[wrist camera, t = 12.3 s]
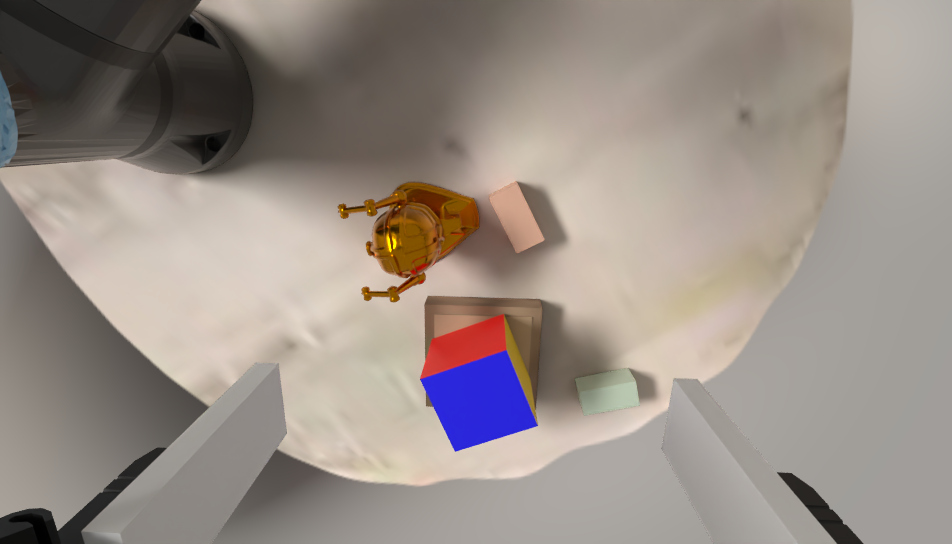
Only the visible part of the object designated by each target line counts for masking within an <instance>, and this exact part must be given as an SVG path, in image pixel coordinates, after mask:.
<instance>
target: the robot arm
mask: <svg viewBox="0 0 952 544" xmlns="http://www.w3.org/2000/svg"><path fill="white" fill-rule="evenodd" d="M200 1H201V0H0V168H1V167H14V166H27V165H40V164H53V163H67V162H80V161H93V160H106V159H118V160H121V161H124V162H127V163H130V164H133V165H136V166H139V167H142V168H145V169H148V170H151V171H155V172H160V173H167V174H187V173H195V172H202V171H206V170H210V169H212V168H215V167H217V166H219V165H221V164H223V163H224V162H225V161H227V160H228V159H229V158H231V157H232V156H233V155H234V154H235V153H236V151H237V150H238V149H239V148H240V146H241V145H242V143H243V141H244V139H245V137H246V135H247V133H248V130H249V127H250V123H251V118H252V109H253V99H252V90H251V84H250V80H249V77H248V73H247V70H246V68H245V65H244V63H243V61H242V59H241V57H240V55H239V53H238V52H237V50H236V48H235V47H234V45H233V44H232V43H231V41H230V40H229V39H228V37H227V36H226V35H225V34H224V33H223V32H222V31H221V30H220V29H219V28H218V27H217V26H216V25H215V24H214V23H212V22H211V21H210V20H208V19H207V18H206V17H204V16H203V15H201V14H199V13H197V12H196V11H194V9H195V8H196V6H197V5H198V4H199V3H200ZM286 434H287V430H286V422H285V413H284V405H283V397H282V389H281V380H280V372H279V364H276V363H255V364H254V365H253V366H252V367H251V368H250V369H249V370H248V371H247V372H246V373H245V374H244V375H243V376H242V377H241V378H240V379H239V380H238V381H237V382H235V383H234V384H233V385H232V386H231V387H230V388H229V389H228V390H227V391H226V392H225V393H224V394H223V395H222V396H221V397H220V398H219V399H218V400H217V401H216V402H215V403H214V404H213V405H212V406H211V407H210V408H208V409H207V410H206V412H204V413H203V414H202V415H201V416H200V417H199V418H198V419H197V420H196V421H195V422H194V423H193V424H192V425H191V426H190V427H189V428H188V429H187V430H186V431H185V432H184V433H183V434H182V435H181V436H180V437H178V438H177V439H176V440H175V441H174V442H173V443H172V444H171V445H170V446H169V447H168V448H156V449H154V450H152V451H151V452H149V453H147V454H146V455H144V456H142V457H141V458H139V459H137V460H135V461H134V462H133V463H132V464H131V465H130V466H129V467H128V468H127V469H125V470H124V471H123V472H122V473H121V474H120V475H119V476H118V479H117V480H115V479H114V480H113V481H112V482H111V483H110V484H109V485H108V486H107V487H106V488H105V489H104V491H103V493H99V494H98V495H97V496H96V497H95V498H94V499H93V500H92V501H90V502H89V503H88V504H87V505H86V506H85V507H84V508H83V509H82V510H80V511H79V512H78V513H77V514H76V515H75V516H74V517H73V518H72V519H71V520H70V521H68V522H67V523H66V524H65V525H64V526H63V527H62V528H61V529H60V530H59V531H57V528H56V525H55V522H54V519H53V516H52V513H51V511H48V510H46V509H43V508H38V509H26V510H22V511H19V512H15V513H11V514H9V515H6V516H4V517H2V518H0V544H211V543H212V542H213V540H214V539H215V537H216V536H217V534H218V533H219V531H220V530H221V529H222V527H223V525H224V524H225V523H226V521H227V520H228V518H229V517H230V515H231V514H232V513H233V511H234V510H235V508H236V507H237V505H238V504H239V502H240V501H241V499H242V498H243V497H244V495H245V494H246V492H247V491H248V489H249V488H250V486H251V485H252V483H253V482H254V481H255V479H256V478H257V476H258V475H259V473H260V472H261V470H262V469H263V467H264V466H265V464H266V463H267V462H268V460H269V459H270V457H271V455H272V454H273V453H274V451H275V450H276V448H277V447H278V446H279V444H280V443H281V441H282V440H283V438H284V437H285V435H286ZM662 451H663V453H664V454H665V456H666V458H667V460H668V461H669V464H670V465H671V467H672V469H673V471H674V472H675V474H676V476H677V478H678V480H679V482H680V484H681V486H682V487H683V489H684V491H685V493H686V495H687V496H688V498H689V500H690V502H691V504H692V506H693V508H694V509H695V511H696V513H697V515H698V517H699V518H700V520H701V522H702V524H703V526H704V528H705V529H706V531H707V533H708V535H709V537H710V539H711V541H712V542H713V544H863V543H862V542H861V540H860V539H859V538H858V537H857V536H856V535H855V534H854V533H853V532H852V531H851V529H850V528H849V527H848V526H847V525H844V524H843V521H842V520H841V519H840V517H839V516H838V515H837V514H836V513H835V512H834V511H833V510H830V509H829V506H828V504H827V503H826V502H825V501H824V500H823V499H822V498H821V497H820V496H819V495H818V493H817V492H816V491H815V490H814V489H813V488H812V487H810V486H809V485H807V484H806V483H805V482H803V481H802V480H800V479H799V478H797V477H796V476H795V475H793V474H792V473H778V472H776V471H775V470H774V469H773V468H772V467H771V465H770V464H769V463H768V462H767V461H766V459H765V458H764V457H763V456H762V455H761V454H760V452H759V451H758V450H757V449H756V448H755V447H754V445H753V444H752V443H751V442H750V441H749V439H748V438H747V437H746V436H745V435H744V434H743V433H742V431H741V430H740V429H739V428H738V427H737V425H736V424H735V423H734V422H733V421H732V419H731V418H730V417H729V416H728V415H727V414H726V413H725V411H724V410H723V409H722V408H721V406H720V405H719V404H718V403H717V402H716V401H715V399H714V398H713V397H712V396H711V395H710V394H709V392H708V391H707V390H706V389H705V388H704V387H703V385H702V384H701V383H700V382H699V381H698V379H678V378H674V380H673V385H672V391H671V397H670V403H669V408H668V414H667V420H666V425H665V431H664V437H663V443H662Z"/></svg>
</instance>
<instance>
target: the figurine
mask: <svg viewBox="0 0 952 544" xmlns="http://www.w3.org/2000/svg"><path fill="white" fill-rule="evenodd" d="M386 206H390V207H389V210H387V211H386V212H385V213H383V214H382V215H381V216H380V217H379V218H378V219H377V220H376V222H375V224H374V227H373V230H372V242H370V241H368V242H367V243H366V249H367V253H368V255H369V256H373V257H374V258H375V259H377V261H378V263H379V265H380V266H381V268H382V269H383V270H384V271H385V272H386V273H388V274H391V275H395V276H398V277H400V278H408V277H409V276H410V275H411V276H410V278H409V279H408V280H406V281H405V282H404V283H403V284H401V285H400V286H399V287H398V288H397V287H396V286H391V287H389V288H388V289H387V291H369V290H370V289H369V287H367V286H366V287H363V288H362V289H361V290H362V293H361V294H362V295H364V300H366V301H369V300H371V298H372V297H390V302H397V301H398V300H400V297H399V296H398V294H400V293H402V292H403V291H405V290H407V289H409V288H410V287H412V286H415V285H417V284H422V283H424V281H425V280H426V275H425V273H424V271H426V270H427V269H429V268H430V267H432V266H433V265H434V264H435V263H436V261H437V260H438V259H440V258H442V257H443V256H445V255H446V254H447V253H449V252H450V251H451V250H453V249H454V248H455V247H456V246H458V245H459V244H460V243H461V242H462V241H464V240H465V239H466V238H467V237H468V236H469V235H470V234H472V233H473V232H474V231H476V230H477V229H478V228H479V227H480V220H479V212H478V208H477V205H476V202H475V200H474V198H471V197H467V196H464V195H461V194H458V193H455V192H453V191H450V190H447V189H444V188H441V187H437V186H434V185H430V184H426V183H420V182H408V183H404V184H402V185H400V186H399V187H398V188H397V189H396V190H395V191H394V192H393V193H392V194H391V195H390V196H389V197H387V198H384V199H382V200H380V201H378V202H375V201H374V200H372V199H368V200H366V201H365V202H364V206H356V207H348V208H346V204H339V206H338V209H339V211H338V212H339V213H340V216H341V218H343V219H345V218H348V217H349V214H350V213H358V212H367V216H375V215H376V214H377V210H376V209H379V208H383V207H386Z"/></svg>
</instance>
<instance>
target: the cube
mask: <svg viewBox="0 0 952 544" xmlns="http://www.w3.org/2000/svg"><path fill="white" fill-rule="evenodd" d="M420 380H421V382H422V384H423V386H424V388H425V390H426V393H427V395H428V397H429V399H430V401H431V403H432V405H433V407H434V409H435V411H436V413H437V415H438V417H439V419H440V422H441V424H442V426H443V428H444V430H445V432H446V434H447V436H448V438H449V440H450V442H451V444H452V446H453V448H454V450H455V452H456V451H459V450H462V449H465V448H469V447H472V446H475V445H478V444H481V443H485V442H488V441H491V440H494V439H497V438H501V437H504V436H507V435H510V434H514V433H517V432H520V431H523V430H526V429H530V428H533V427H536V426H538V424H537V417H536V411H535V405H534V399H533V393H532V387H531V380H530V377H529V375H528V372H527V370H526V367H525V365H524V362H523V360H522V357H521V355H520V352H519V350H518V347H517V345H516V342H515V340H514V337H513V335H512V333H511V330H510V328H509V325H508V323H507V320H506V318H505V315H504V314H502V315H499V316H496V317H493V318H490V319H487V320H485V321H482V322H479V323H476V324H473V325H470V326H468V327H465V328H462V329H459V330H456V331H453V332H450V333H448V334H445V335H442V336H439V337H436V338H433V339H432V340H431V344H430V347H429V351H428V354H427V357H426V361H425V364H424V368H423V371H422V375H421V378H420Z"/></svg>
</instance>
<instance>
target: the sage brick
mask: <svg viewBox="0 0 952 544" xmlns="http://www.w3.org/2000/svg"><path fill="white" fill-rule="evenodd" d="M575 383H576V387H577V392H578V397H579V402H580V405H581V408H582V411H583V414H584V416H586V415H591V414H596V413H602V412H607V411H612V410H618V409H623V408H629V407H634V406H639V405H640V403H639V397H638V391H637V385H636V381H635V379H634V377H633V375H632V374H631V372H630V370H629V369H628V368H625V369H620V370H615V371H609V372H604V373H599V374H594V375H589V376H584V377H579V378H575Z"/></svg>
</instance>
